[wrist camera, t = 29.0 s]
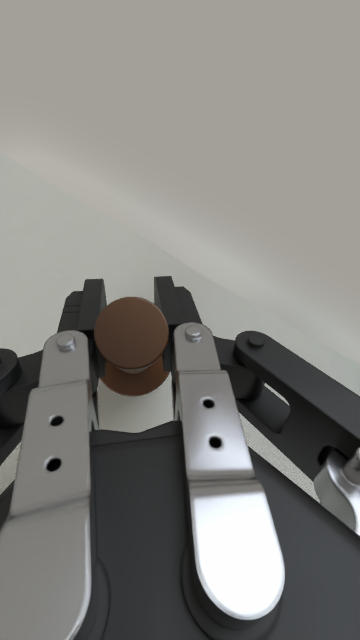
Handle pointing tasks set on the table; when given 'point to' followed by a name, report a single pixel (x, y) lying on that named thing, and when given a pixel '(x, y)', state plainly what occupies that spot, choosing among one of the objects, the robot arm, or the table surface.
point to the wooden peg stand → (132, 345)
